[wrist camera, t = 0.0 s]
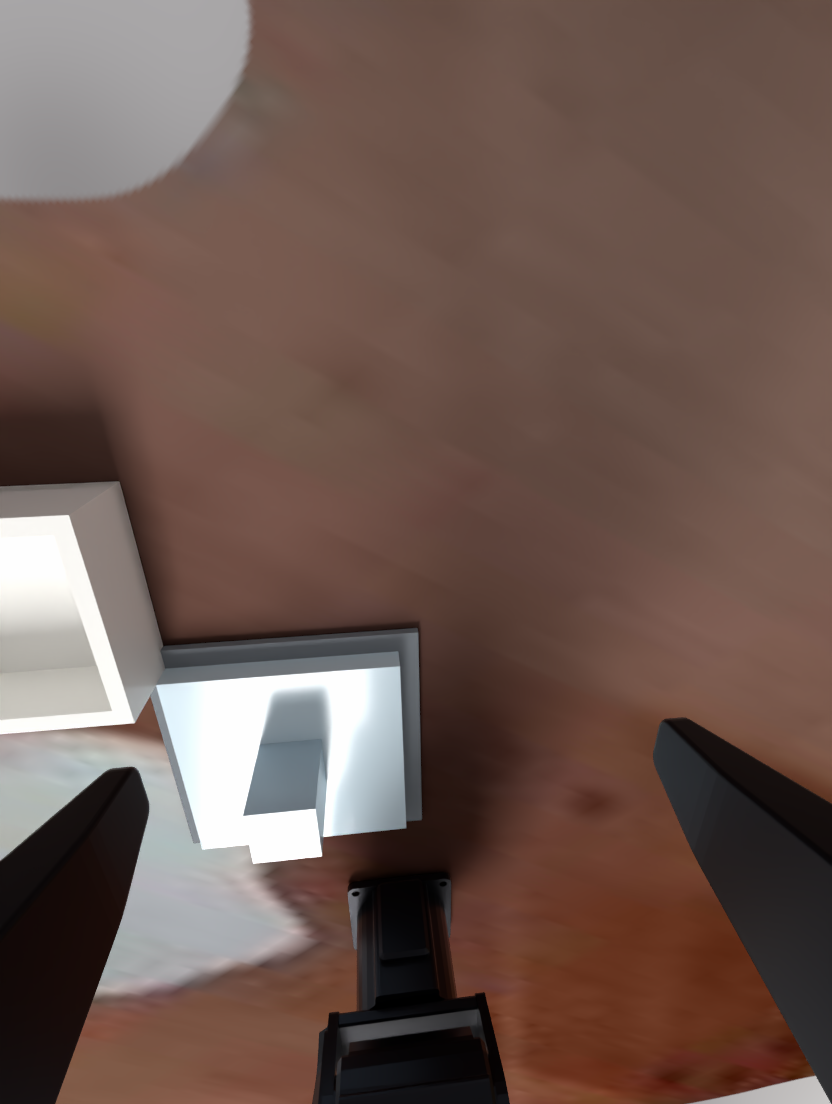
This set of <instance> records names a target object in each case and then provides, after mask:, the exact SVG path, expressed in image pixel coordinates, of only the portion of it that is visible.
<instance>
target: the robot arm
mask: <svg viewBox="0 0 832 1104" xmlns="http://www.w3.org/2000/svg"><path fill="white" fill-rule="evenodd" d="M653 760H654V764H655V767H656V770H657V772H658V775H659V777H660V779H661V781H662V784H663V786H664V788H665V791H666V793H667V795H668V797H669V800H670V802H671V804H672V807H673V809H674V811H675V814H676V816H677V818H678V820H679V823H680V825H681V827H682V830H683V832H684V834H685V836H686V839H687V841H688V843H689V845H690V847H691V849H692V852H693V854H694V855H695V857H696V859H697V861H698V863H699V865H700V867H701V869H702V871H703V872H704V874H705V876H706V878H707V880H708V881H709V883H710V885H711V887H712V889H713V890H714V892H715V894H716V896H717V898H718V899H719V901H720V903H721V905H722V907H723V909H724V910H725V912H726V914H727V916H728V918H729V919H730V921H731V923H732V925H733V927H734V928H735V930H736V932H737V934H738V936H739V938H740V939H741V941H742V943H743V945H744V947H745V948H746V950H747V952H748V954H749V956H750V957H751V959H752V961H753V963H754V965H755V966H756V968H757V970H758V972H759V974H760V976H761V977H762V979H763V981H764V983H765V985H766V986H767V988H768V990H769V992H770V994H771V995H772V997H773V999H774V1001H775V1003H776V1004H777V1006H778V1008H779V1010H780V1012H781V1014H782V1015H783V1017H784V1019H785V1021H786V1023H787V1024H788V1026H789V1028H790V1030H791V1032H792V1033H793V1035H794V1037H795V1039H796V1041H797V1043H798V1044H799V1046H800V1048H801V1050H802V1052H803V1053H804V1055H805V1057H806V1059H807V1061H808V1062H809V1064H810V1066H811V1068H812V1070H813V1071H814V1073H815V1075H816V1077H817V1079H818V1080H819V1082H820V1084H821V1086H822V1088H823V1090H824V1091H825V1093H826V1095H827V1097H828V1098H829V1100H830V1102H831V1104H832V804H831V803H830V802H828V801H826V800H825V799H823V798H821V797H820V796H818V795H816V794H814V793H813V792H811V791H809V790H808V789H806V788H804V787H803V786H801V785H799V784H798V783H796V782H794V781H793V780H791V779H789V778H788V777H786V776H784V775H782V774H781V773H779V772H777V771H776V770H774V769H772V768H771V767H769V766H767V765H766V764H764V763H762V762H761V761H759V760H757V759H755V758H754V757H752V756H750V755H749V754H747V753H745V752H744V751H742V750H740V749H739V748H737V747H735V746H734V745H732V744H730V743H729V742H727V741H725V740H723V739H722V738H720V737H718V736H717V735H715V734H713V733H712V732H710V731H708V730H707V729H705V728H703V727H702V726H700V725H698V724H697V723H695V722H693V721H691V720H690V719H687V718H683V717H681V718H669V719H664V720H663V721H662V722H661V723H660V725H659V730H658V734H657V738H656V743H655V747H654V751H653ZM148 816H149V801H148V797H147V794H146V791H145V788H144V785H143V782H142V779H141V776H140V773H139V771H138V770H137V769H136V768H135V767H123V768H112V769H109V770H107V771H106V772H104V773H103V774H102V775H101V776H99V777H98V778H97V779H96V780H95V781H93V782H92V783H91V784H90V785H89V786H88V787H86V788H85V789H84V790H83V791H82V792H81V793H79V794H78V795H77V796H76V797H75V798H74V799H72V800H71V801H70V802H69V803H68V804H66V805H65V806H64V807H63V808H62V809H61V810H59V811H58V812H57V813H56V814H55V815H54V816H52V817H51V818H50V819H49V820H48V821H47V822H45V823H44V824H43V825H42V826H41V827H40V828H38V829H37V830H36V831H35V832H34V833H32V834H31V835H30V836H29V837H28V838H27V839H25V840H24V841H23V842H22V843H21V844H20V845H18V846H17V847H16V848H15V849H14V850H13V851H11V852H10V853H9V854H8V855H7V856H5V857H4V858H3V859H2V860H1V861H0V1104H55V1103H56V1100H57V1097H58V1094H59V1092H60V1089H61V1086H62V1083H63V1081H64V1078H65V1075H66V1072H67V1069H68V1067H69V1064H70V1061H71V1058H72V1056H73V1053H74V1050H75V1047H76V1045H77V1042H78V1039H79V1036H80V1034H81V1031H82V1028H83V1025H84V1023H85V1020H86V1017H87V1014H88V1012H89V1009H90V1006H91V1003H92V1000H93V998H94V995H95V992H96V989H97V987H98V984H99V981H100V978H101V976H102V973H103V970H104V967H105V965H106V962H107V959H108V956H109V954H110V951H111V948H112V945H113V942H114V940H115V937H116V934H117V931H118V928H119V925H120V922H121V919H122V916H123V913H124V909H125V906H126V902H127V898H128V894H129V890H130V887H131V883H132V879H133V875H134V871H135V867H136V863H137V859H138V855H139V851H140V847H141V843H142V840H143V836H144V832H145V828H146V824H147V820H148ZM348 902H349V910H350V919H351V928H352V936H353V945H354V949H356V950H357V1011H356V1012H348V1013H340V1014H339V1012H332V1013H329V1020H328V1027H327V1028H325V1029H324V1030H323V1031H321V1032H320V1033H319V1049H318V1065H317V1075H316V1083H315V1089H314V1095H313V1102H312V1104H510V1103H509V1097H508V1091H507V1086H506V1081H505V1076H504V1072H503V1068H502V1063H501V1059H500V1055H499V1051H498V1047H497V1042H496V1038H495V1034H494V1030H493V1026H492V1022H491V1017H490V1013H489V1009H488V1005H487V1001H486V996H485V993H484V992H483V993H475V996H468V997H461V998H457V993H456V986H455V979H454V972H453V965H452V958H451V951H450V944H449V937H450V922H451V879H450V875H449V874H448V873H434V874H425V875H416V876H407V877H398V878H389V879H380V880H371V881H363V882H355V883H351V884H350V885H349V886H348Z"/></svg>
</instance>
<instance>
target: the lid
mask: <svg viewBox="0 0 832 1104" xmlns="http://www.w3.org/2000/svg"><path fill="white" fill-rule="evenodd" d="M156 687H157V691H158V694H159V698H160V701H161V705H162V708H163V712H164V715H165V719H166V722H167V726H168V729H169V733H170V736H171V740H172V744H173V747H174V751H175V754H176V758H177V761H178V765H179V768H180V772H181V775H182V779H183V782H184V786H185V789H186V793H187V796H188V800H189V803H190V807H191V811H192V814H193V818H194V821H195V825H196V828H197V832H198V835H199V839H200V842H201V846H202V849H211V848H221V847H230V846H240V845H249V846H250V851H251V855H252V860H253V864H254V863H264V862H273V861H283V860H292V859H301V858H311V857H320V856H322V850H323V837H327V836H336V835H346V834H356V833H365V832H375V831H385V830H394V829H404V828H406V809H405V783H404V756H403V730H402V704H401V678H400V662H399V653H398V651H395V652H381V653H368V654H355V655H341V656H328V657H314V658H301V659H288V660H274V661H261V662H247V663H234V664H221V665H207V666H194V667H180V668H167V669H165V670H164V672H163V673H162V675H161V677H160V679H159V680H158V682H157V684H156Z"/></svg>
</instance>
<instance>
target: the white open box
mask: <svg viewBox="0 0 832 1104" xmlns="http://www.w3.org/2000/svg"><path fill="white" fill-rule="evenodd" d="M162 647H163V643H162V639H161V635H160V632H159V628H158V624H157V620H156V617H155V613H154V609H153V605H152V601H151V598H150V594H149V590H148V586H147V583H146V579H145V575H144V571H143V568H142V564H141V560H140V556H139V553H138V549H137V545H136V541H135V538H134V534H133V530H132V526H131V522H130V519H129V515H128V511H127V507H126V504H125V500H124V496H123V492H122V489H121V485H120V481H112V482H90V483H68V484H45V485H23V486H1V487H0V734H9V733H21V732H33V731H45V730H57V729H69V728H81V727H93V726H105V725H117V724H129V723H135V722H136V720H137V718H138V716H139V714H140V713H141V711H142V709H143V707H144V706H145V704H146V702H147V700H148V698H149V697H150V695H151V693H152V691H153V689H154V688H155V686H156V684H157V682H158V680H159V679H160V677H161V675H162V673H163V672H164V670H165V666H164V663H163V659H162V655H161V652H160V651H161V649H162Z"/></svg>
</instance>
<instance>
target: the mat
mask: <svg viewBox="0 0 832 1104" xmlns="http://www.w3.org/2000/svg"><path fill="white" fill-rule="evenodd" d="M395 651H398V653H399V662H400V678H401V704H402V730H403V756H404V783H405V809H406V821H416V820H422V795H421V745H420V694H419V644H418V628H410V629H396V630H382V631H368V632H354V633H339V634H325V635H311V636H297V637H283V638H269V639H255V640H241V641H227V642H213V643H199V644H185V645H171V646H163V647H162V649H161V651H160V652H161V655H162V659H163V663H164V666H165V669H167V668H180V667H194V666H207V665H221V664H234V663H247V662H261V661H274V660H288V659H301V658H314V657H328V656H341V655H355V654H368V653H381V652H395ZM150 696H151V699H152V703H153V706H154V710H155V713H156V716H157V720H158V723H159V727H160V730H161V734H162V737H163V740H164V744H165V747H166V751H167V754H168V757H169V761H170V764H171V768H172V771H173V775H174V778H175V781H176V785H177V788H178V792H179V795H180V799H181V802H182V805H183V809H184V812H185V816H186V819H187V823H188V826H189V829H190V833H191V836H192V840H193V843H201V842H200V839H199V835H198V832H197V828H196V825H195V821H194V818H193V814H192V811H191V807H190V803H189V800H188V796H187V793H186V789H185V786H184V782H183V779H182V775H181V772H180V768H179V765H178V761H177V758H176V754H175V751H174V747H173V744H172V740H171V736H170V733H169V729H168V726H167V722H166V719H165V715H164V712H163V708H162V705H161V701H160V698H159V694H158V691H157V687H156V686H155V688H154V689H153V691H152V693H151V695H150Z"/></svg>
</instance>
